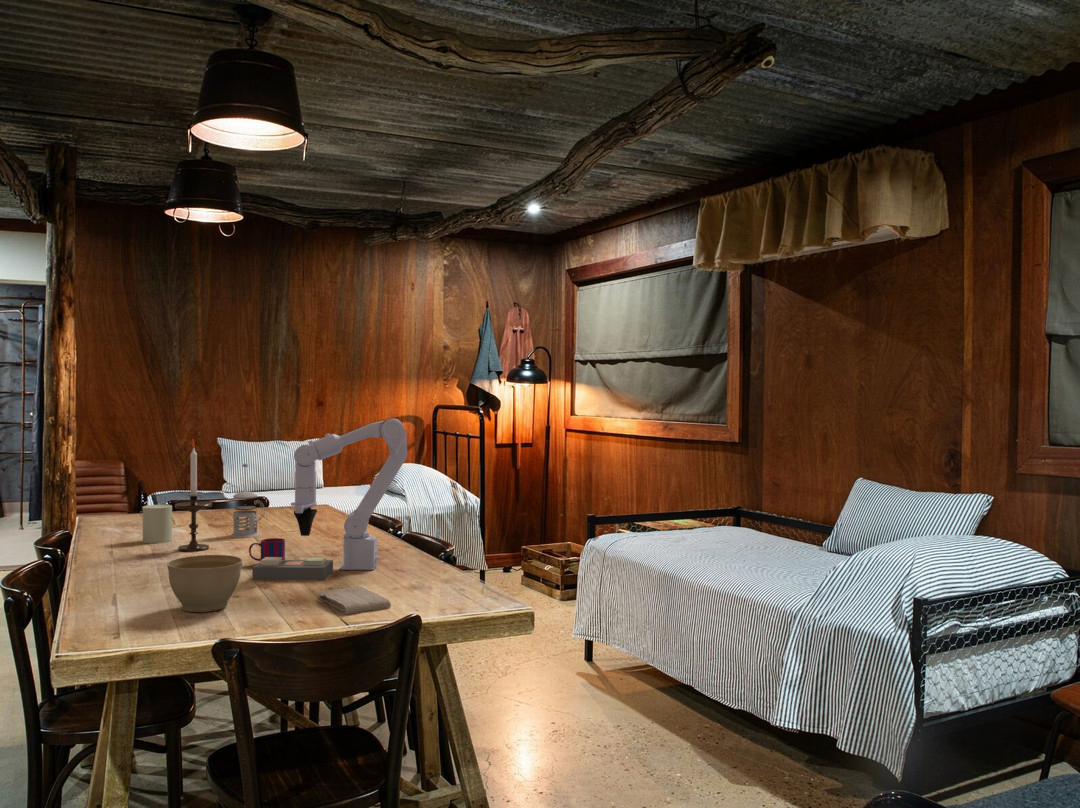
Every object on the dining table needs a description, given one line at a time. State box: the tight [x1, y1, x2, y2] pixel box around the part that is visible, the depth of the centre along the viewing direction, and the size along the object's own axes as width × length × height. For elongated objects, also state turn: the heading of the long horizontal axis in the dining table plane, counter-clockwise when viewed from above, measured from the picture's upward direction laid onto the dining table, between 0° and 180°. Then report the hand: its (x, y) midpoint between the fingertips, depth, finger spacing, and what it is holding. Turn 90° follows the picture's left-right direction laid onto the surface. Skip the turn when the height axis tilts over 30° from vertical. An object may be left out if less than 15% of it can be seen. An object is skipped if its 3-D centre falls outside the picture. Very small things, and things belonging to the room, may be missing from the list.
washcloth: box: [317, 585, 392, 615], centre depth 206 cm, size 12×18×3 cm, turn 37°
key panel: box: [251, 559, 334, 581], centre depth 236 cm, size 19×10×3 cm, turn 90°
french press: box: [230, 463, 266, 539], centre depth 301 cm, size 10×12×25 cm
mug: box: [248, 537, 286, 562], centre depth 253 cm, size 7×10×7 cm
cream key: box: [260, 557, 282, 565], centre depth 236 cm, size 4×4×2 cm
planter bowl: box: [166, 554, 243, 613], centre depth 201 cm, size 16×16×11 cm
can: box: [141, 503, 173, 544], centre depth 289 cm, size 9×9×12 cm
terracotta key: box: [283, 561, 304, 566], centre depth 236 cm, size 4×4×2 cm
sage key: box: [305, 556, 327, 566], centre depth 236 cm, size 4×4×2 cm
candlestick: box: [174, 438, 213, 553], centre depth 274 cm, size 11×11×35 cm
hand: (305, 535), depth 246 cm, fingers closed
